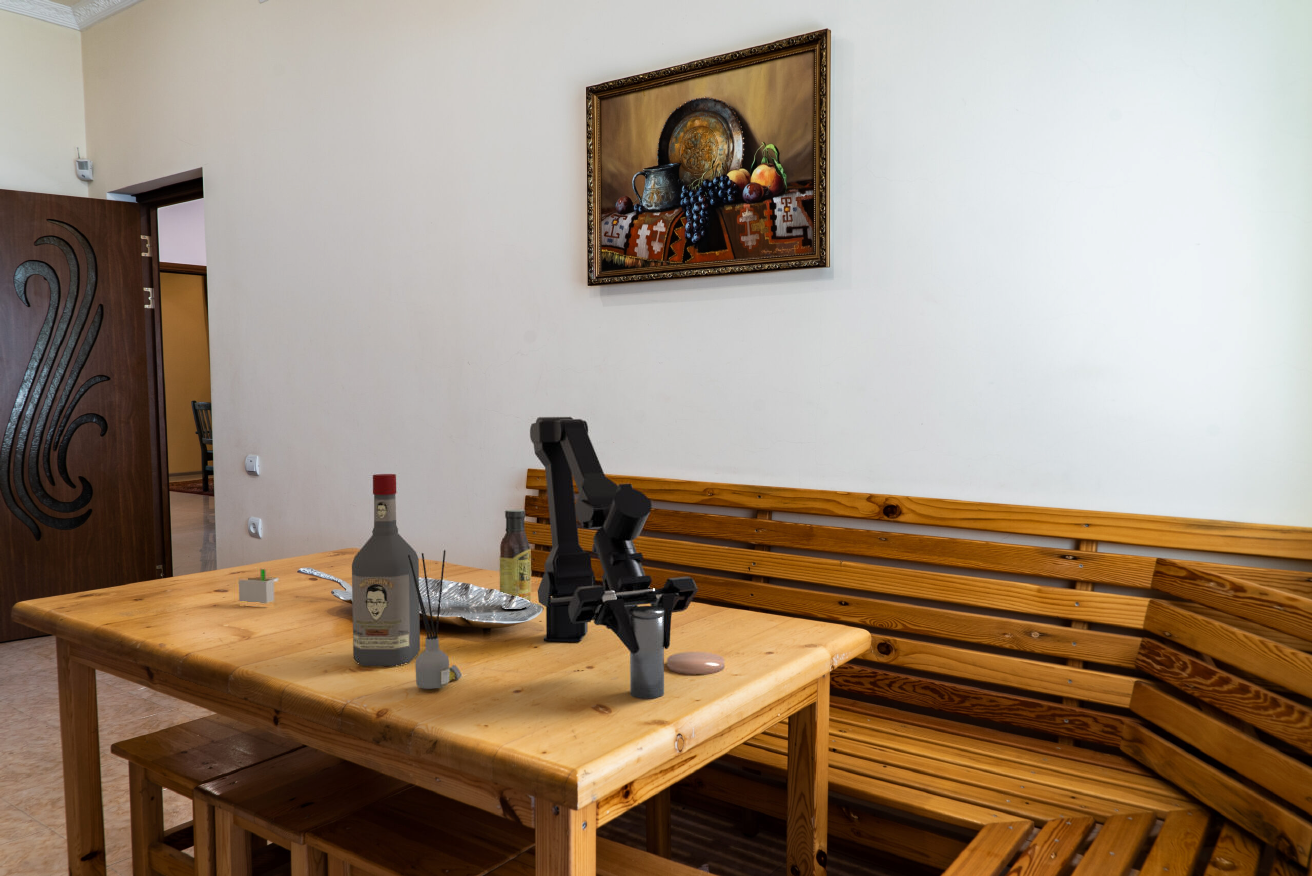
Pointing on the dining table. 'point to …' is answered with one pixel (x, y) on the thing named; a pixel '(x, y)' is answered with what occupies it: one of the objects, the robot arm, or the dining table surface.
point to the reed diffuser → (432, 647)
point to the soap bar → (695, 663)
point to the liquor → (385, 588)
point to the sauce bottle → (515, 557)
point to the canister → (647, 652)
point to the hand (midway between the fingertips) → (651, 649)
